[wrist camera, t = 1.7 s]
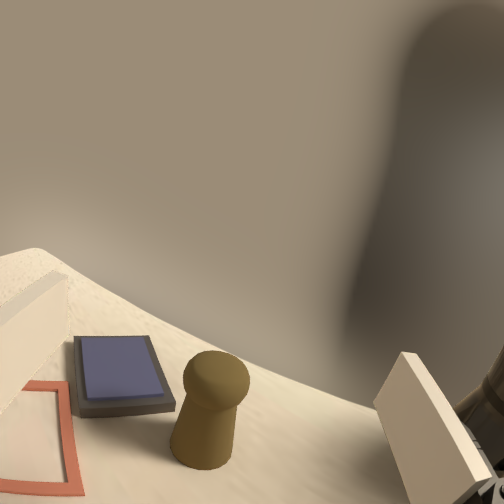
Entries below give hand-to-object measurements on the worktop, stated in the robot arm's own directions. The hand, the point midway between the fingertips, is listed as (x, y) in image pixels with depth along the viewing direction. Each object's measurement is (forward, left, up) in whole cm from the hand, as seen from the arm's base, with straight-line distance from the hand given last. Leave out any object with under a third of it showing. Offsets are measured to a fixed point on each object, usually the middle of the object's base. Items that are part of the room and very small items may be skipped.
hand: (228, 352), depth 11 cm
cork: (+8, -5, -19) cm, 22 cm away
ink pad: (+19, +1, -19) cm, 27 cm away
